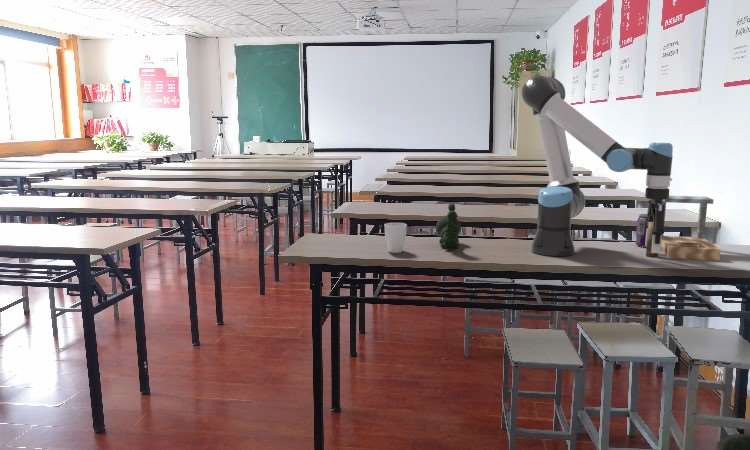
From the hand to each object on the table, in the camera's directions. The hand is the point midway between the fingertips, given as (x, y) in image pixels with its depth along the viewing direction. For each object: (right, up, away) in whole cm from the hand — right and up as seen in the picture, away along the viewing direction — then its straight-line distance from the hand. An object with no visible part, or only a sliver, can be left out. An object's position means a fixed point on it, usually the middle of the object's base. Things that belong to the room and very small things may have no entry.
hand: (652, 249), depth 210 cm
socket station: (+15, -1, +6) cm, 16 cm away
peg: (0, -2, 0) cm, 2 cm away
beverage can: (+5, 0, +17) cm, 18 cm away
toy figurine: (-70, 0, +17) cm, 72 cm away
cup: (-91, -1, +8) cm, 91 cm away
